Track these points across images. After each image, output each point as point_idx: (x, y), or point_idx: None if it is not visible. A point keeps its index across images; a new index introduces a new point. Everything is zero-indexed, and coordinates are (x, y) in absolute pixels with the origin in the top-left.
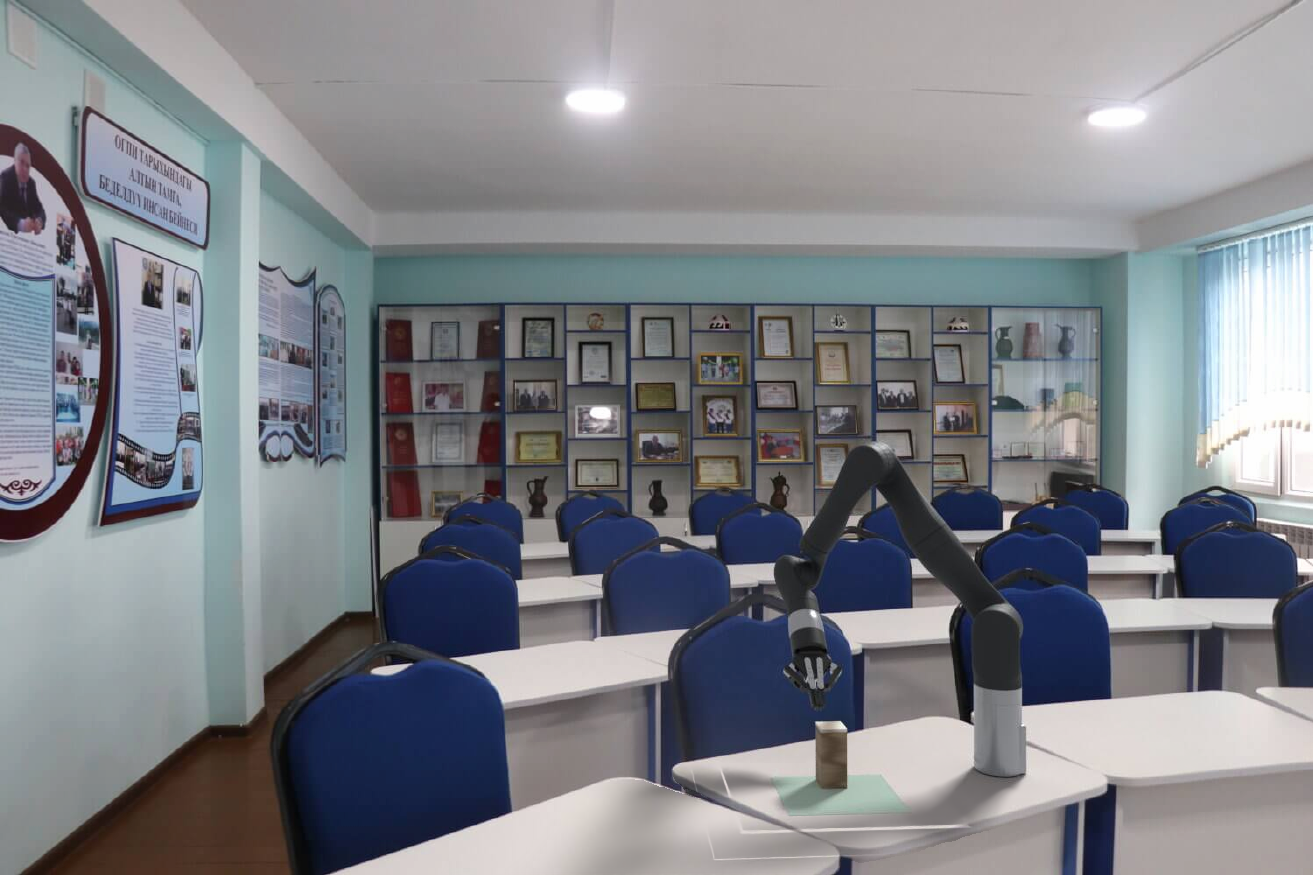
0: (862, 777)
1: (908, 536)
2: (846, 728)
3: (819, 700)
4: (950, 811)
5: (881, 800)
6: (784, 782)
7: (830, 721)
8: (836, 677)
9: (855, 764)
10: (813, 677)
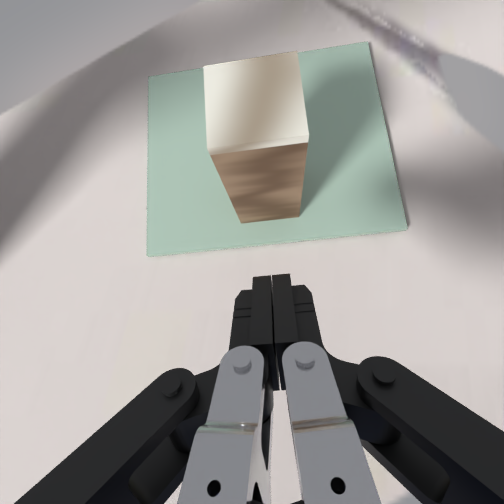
0: (191, 235)
1: None
2: (204, 70)
3: (268, 290)
4: (81, 106)
5: (184, 119)
6: (373, 198)
7: (247, 141)
8: (80, 445)
9: (184, 348)
10: (296, 426)
